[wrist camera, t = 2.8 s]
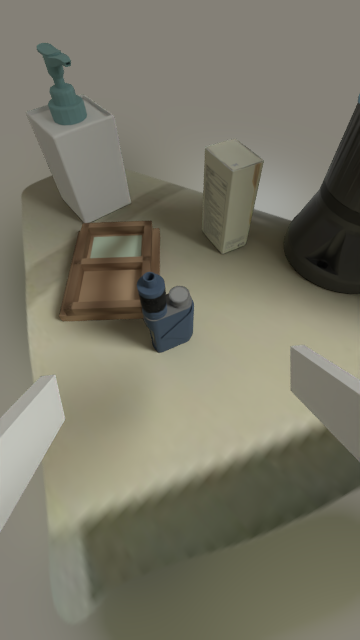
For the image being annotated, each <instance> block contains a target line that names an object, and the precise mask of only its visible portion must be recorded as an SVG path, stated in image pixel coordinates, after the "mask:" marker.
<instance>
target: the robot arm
mask: <svg viewBox="0 0 360 640" xmlns="http://www.w3.org/2000/svg"><path fill="white" fill-rule="evenodd" d="M284 251H285V254H286V257H287V259H288V260H289V262H290V264H291V265H292V266H293V267H294V269H295V270H296V271H297V272H298V273H300V274H301V275H302V276H303V277H305V278H306V279H308V280H309V281H311V282H313V283H314V284H316V285H318V286H321V287H323V288H326V289H329V290H332V291H336V292H342V293H351V294H358V293H360V94H359V97H358V104H357V106H356V109H355V111H354V113H353V115H352V117H351V120H350V122H349V124H348V126H347V129H346V131H345V133H344V135H343V138H342V140H341V142H340V144H339V147H338V149H337V151H336V154H335V156H334V158H333V160H332V163H331V165H330V167H329V169H328V172H327V174H326V176H325V178H324V181H323V183H322V185H321V187H320V189H319V191H318V192H317V193H316V194H315V195H314V196H313V198H312V199H311V200H310V201H309V202H308V203H307V204H306V206H305V207H304V208H303V209H302V210H301V212H300V213H299V214H298V215H297V216H296V217H295V218H294V219H293V220H292V222H291V224H290V226H289V228H288V231H287V233H286V236H285V239H284ZM290 358H291V391H292V392H293V393H294V394H295V396H296V397H297V398H298V399H299V400H300V401H301V402H302V403H303V404H304V405H305V406H306V407H307V408H308V409H309V410H310V411H311V412H312V413H313V414H314V415H315V416H316V417H317V418H318V419H319V420H320V421H321V422H322V423H323V424H324V426H325V427H326V428H327V429H328V430H329V431H330V432H331V433H332V434H333V435H334V436H335V437H336V438H337V439H338V440H339V441H340V442H341V443H342V444H343V445H344V446H345V447H346V448H347V449H348V450H349V451H350V452H351V453H352V454H353V455H354V457H355V458H356V459H357V460H358V461H359V462H360V380H359V379H358V378H356V377H355V376H353V375H351V374H350V373H348V372H347V371H345V370H343V369H342V368H340V367H339V366H337V365H335V364H334V363H332V362H331V361H329V360H327V359H326V358H324V357H323V356H321V355H319V354H318V353H316V352H314V351H313V350H311V349H310V348H308V347H306V346H305V345H297V346H290ZM64 420H65V416H64V412H63V407H62V403H61V398H60V394H59V389H58V385H57V380H56V376H55V375H47V376H41V377H40V378H39V379H38V380H37V381H36V382H35V383H34V384H33V385H32V386H31V387H30V388H29V389H28V390H27V391H26V392H25V393H24V394H23V395H22V396H21V397H20V398H19V399H18V400H17V401H16V402H15V403H14V404H13V405H12V406H11V407H10V408H9V409H8V410H7V411H6V412H5V414H4V415H2V417H1V418H0V532H1V530H2V529H3V527H4V525H5V523H6V522H7V520H8V518H9V516H10V514H11V513H12V511H13V509H14V507H15V506H16V504H17V502H18V501H19V499H20V497H21V495H22V494H23V492H24V490H25V488H26V487H27V485H28V483H29V481H30V479H31V478H32V476H33V474H34V473H35V471H36V469H37V468H38V466H39V464H40V462H41V461H42V459H43V457H44V455H45V454H46V452H47V450H48V448H49V447H50V445H51V443H52V441H53V440H54V438H55V436H56V434H57V433H58V431H59V429H60V427H61V426H62V424H63V422H64Z"/></svg>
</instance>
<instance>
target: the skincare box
mask: <svg viewBox="0 0 360 640" xmlns="http://www.w3.org/2000/svg"><path fill="white" fill-rule="evenodd" d="M263 163H264V160H263V159H261V158H260V157H259V156H258V155H256V154H255V153H254V152H252V151H251V150H250V149H249V148H247V147H246V146H245V145H243V144H242V143H240V142H239V141H238V140H236V139H231V140H228V141H224V142H221V143H217V144H213V145H210V146H206V147H205V166H204V167H205V168H204V191H203V215H202V231H203V232H204V234H205V235H206V236H207V237H208V238H209V240H210V241H211V242H212V243H213V244H214V245H215V247H216V248H217V249H218V250H219V251H220V252H221V253H222V254H223V253H226V252H229V251H231V250H234V249H236V248H239V247H241V246H243V245H246V242H247V237H248V232H249V228H250V223H251V218H252V214H253V209H254V204H255V200H256V195H257V190H258V186H259V181H260V176H261V171H262V167H263Z"/></svg>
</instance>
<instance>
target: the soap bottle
mask: <svg viewBox="0 0 360 640" xmlns="http://www.w3.org/2000/svg"><path fill="white" fill-rule="evenodd" d="M37 50H38V52H39V53H41V54H42V55H43V58H44V60H45V64H46V67H47V70H48V73H49V74H50V75H51V77H52V78H53V80H54V83H55V85H53V86H52V87H51V88H50V94H51V97H52V99H51V100H50V101H49V103H48V105H47V106H43V107H41V108H37V109H34V110H31V111H28V112H26V115H27V117H28V120H29V122H30V124H31V127H32V129H33V131H34V134H35V136H36V138H37V141H38V143H39V145H40V148H41V150H42V152H43V155H44V157H45V159H46V162H47V164H48V166H49V169H50V171H51V173H52V176H53V178H54V180H55V183H56V185H57V187H58V190H59V192H60V194H61V197H62V199H63V200H64V201H65V202H66V203H67V204H68V205H69V207H70V208H71V209H72V210H73V211H74V212H75V213H76V214H77V215H78V216H79V218H80V219H81V220H82V221H83V222H84V223H90V222H93V221H95V220H97V219H99V218H101V217H103V216H105V215H107V214H109V213H111V212H113V211H115V210H118V209H120V208H122V207H124V206H126V205H128V204H130V203H131V200H130V195H129V190H128V184H127V179H126V174H125V169H124V164H123V159H122V153H121V148H120V143H119V138H118V133H117V128H116V122H115V117H114V115H113V114H111V113H110V112H109V111H107V110H105V109H104V108H103V107H101V106H100V105H98V104H97V103H95V102H94V101H92V100H91V99H89V98H88V97H87V96H85V95H84V94H82V95H76V94H75V90H74V88H73V86H72V85H71V84H67V83H65V82H64V79H63V74H64V70H63V66H65V67H68V66H71V60H70V58H69V57H68V56H67V55H66V54H64V53H61V51H60V50H58V49H56V48H55V47H53V46H52V45H51V44H48V43H41V44H39V45H37ZM62 65H63V66H62Z"/></svg>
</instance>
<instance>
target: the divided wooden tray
mask: <svg viewBox="0 0 360 640" xmlns="http://www.w3.org/2000/svg"><path fill="white" fill-rule="evenodd" d="M146 272H153V273H155V274H158V275H160V231H159V228H152V221H129V222H102V223H82V228H81V231H79V233H78V237H77V241H76V245H75V250H74V254H73V258H72V263H71V267H70V271H69V275H68V280H67V284H66V288H65V293H64V297H63V301H62V305H61V310H60V314H59V317H60V318H61V320H62V321H86V320H113V319H140V318H144V316H143V313H142V306H141V302H140V298H139V294H138V290H137V281H138V280H139V278H140V277H142V276H143V275H144V274H145V273H146Z"/></svg>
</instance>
